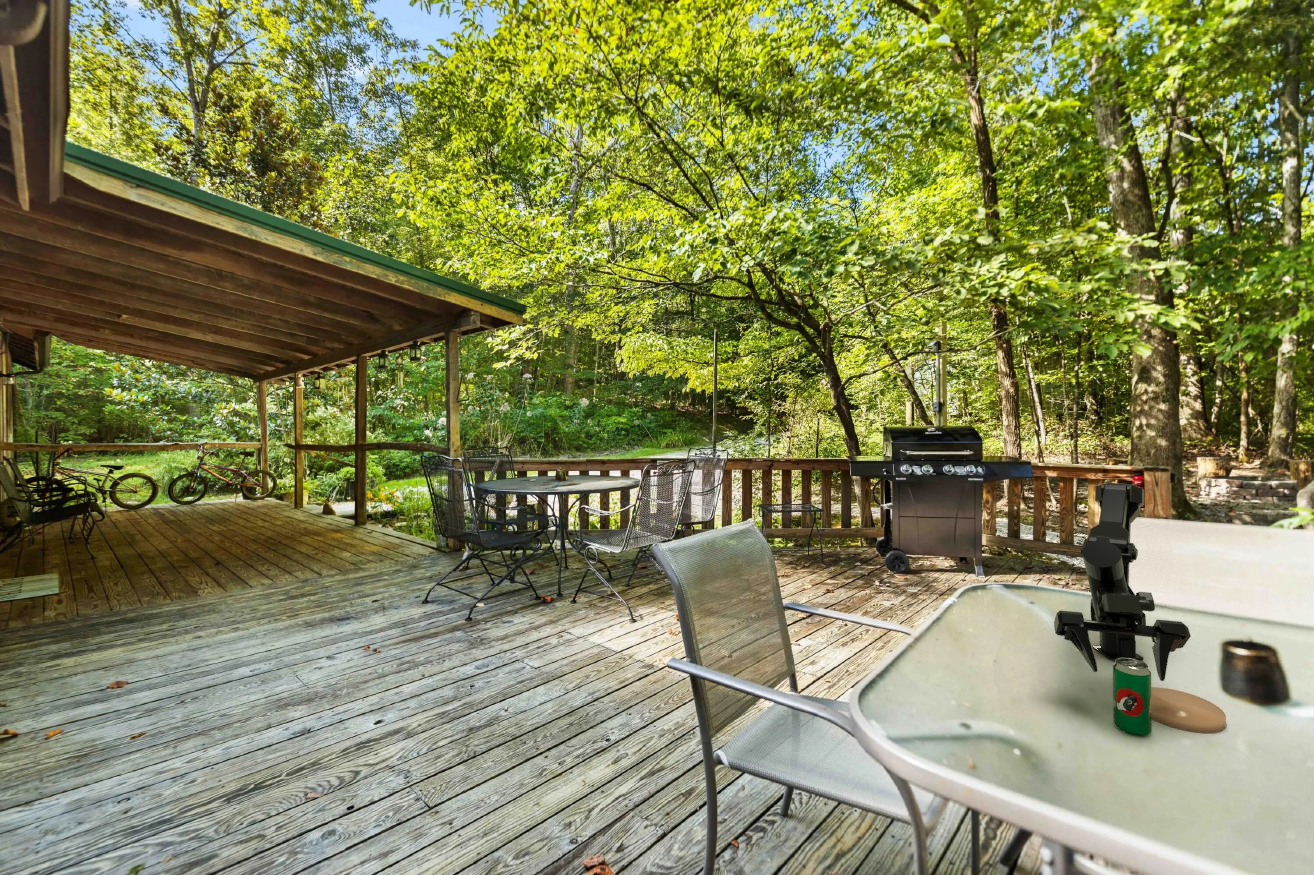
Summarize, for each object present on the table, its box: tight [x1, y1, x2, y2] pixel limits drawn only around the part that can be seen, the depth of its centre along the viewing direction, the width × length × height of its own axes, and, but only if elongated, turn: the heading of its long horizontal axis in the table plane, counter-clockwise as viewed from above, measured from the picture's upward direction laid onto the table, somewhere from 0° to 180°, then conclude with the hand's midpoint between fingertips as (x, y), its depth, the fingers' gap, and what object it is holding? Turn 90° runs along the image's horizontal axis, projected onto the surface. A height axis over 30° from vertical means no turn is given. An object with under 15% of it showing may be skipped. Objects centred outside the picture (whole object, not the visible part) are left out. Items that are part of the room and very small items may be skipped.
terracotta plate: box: [1151, 686, 1227, 734], centre depth 99 cm, size 12×12×2 cm
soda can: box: [1112, 657, 1153, 738], centre depth 95 cm, size 5×5×12 cm
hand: (1128, 675), depth 96 cm, fingers open, 9 cm apart
